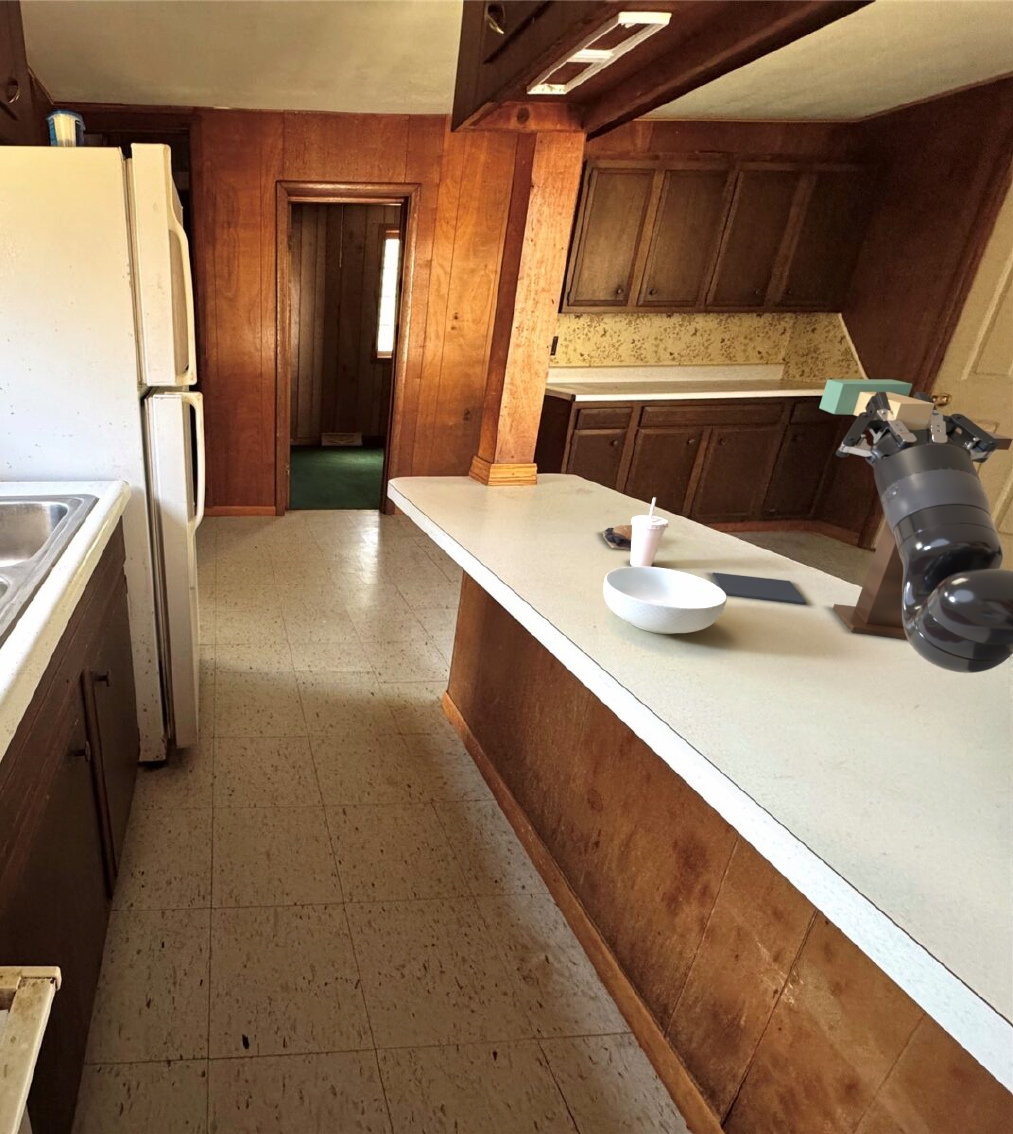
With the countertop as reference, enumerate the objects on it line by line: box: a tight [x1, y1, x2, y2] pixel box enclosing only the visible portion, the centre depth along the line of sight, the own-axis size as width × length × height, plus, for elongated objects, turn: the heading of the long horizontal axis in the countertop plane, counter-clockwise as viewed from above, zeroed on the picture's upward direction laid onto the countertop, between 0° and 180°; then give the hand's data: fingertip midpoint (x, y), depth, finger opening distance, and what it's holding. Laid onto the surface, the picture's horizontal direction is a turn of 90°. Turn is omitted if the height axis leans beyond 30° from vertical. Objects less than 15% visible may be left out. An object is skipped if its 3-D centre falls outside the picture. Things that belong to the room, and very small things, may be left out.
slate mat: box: [711, 572, 807, 605], centre depth 114 cm, size 12×10×1 cm
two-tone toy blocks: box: [818, 378, 936, 430], centre depth 80 cm, size 7×18×4 cm, turn 155°
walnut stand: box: [832, 428, 1013, 641], centre depth 95 cm, size 9×9×31 cm
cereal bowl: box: [602, 565, 728, 635], centre depth 102 cm, size 17×17×7 cm
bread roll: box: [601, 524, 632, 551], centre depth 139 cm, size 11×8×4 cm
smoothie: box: [629, 497, 670, 567], centre depth 124 cm, size 6×6×14 cm
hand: (896, 398), depth 76 cm, fingers closed on two-tone toy blocks, 3 cm apart
